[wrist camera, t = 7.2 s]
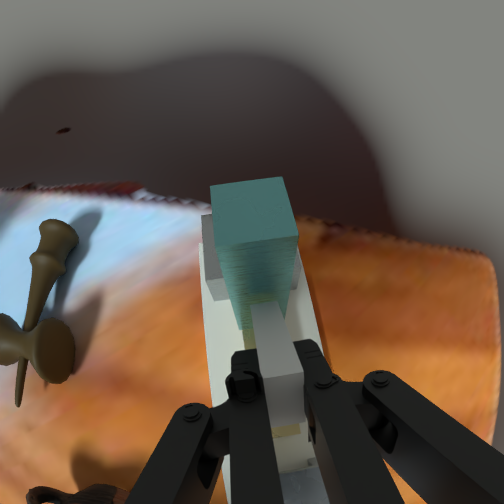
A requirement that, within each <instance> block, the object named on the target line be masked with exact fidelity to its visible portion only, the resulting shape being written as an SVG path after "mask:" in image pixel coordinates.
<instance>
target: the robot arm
mask: <svg viewBox="0 0 504 504" xmlns="http://www.w3.org/2000/svg"><path fill="white" fill-rule="evenodd" d="M250 308H251V314H252V321H253V328H254V335H255V342H256V348H255V349H247V350H240V351H235V352H234V354H233V355H232V357H231V373H230V374H229V375H228V376H227V377H226V380H225V385H226V389H227V393H228V397H229V398H228V399H227V400H226V401H225V402H224V403H222V404H221V405H218V406H216V407H212V408H208V407H207V406H205V405H204V404H200V403H190V404H186V405H183V406H182V407H180V408H179V409H178V410H177V411H176V412H175V414H174V415H173V417H172V419H171V421H170V423H169V424H168V426H167V428H166V430H165V432H164V433H163V435H162V437H161V439H160V441H159V442H158V444H157V446H156V448H155V450H154V451H153V453H152V455H151V457H150V458H149V460H148V462H147V464H146V466H145V467H144V469H143V471H142V473H141V474H140V476H139V478H138V480H137V482H136V483H135V485H134V487H133V489H132V490H131V492H130V494H129V496H128V497H127V499H126V501H125V503H124V504H209V502H210V499H211V496H212V493H213V490H214V487H215V484H216V482H217V479H218V476H219V473H220V470H221V467H222V463H223V460H224V456H226V455H229V454H230V489H231V504H284V499H283V493H282V488H281V482H280V477H279V471H278V465H277V460H276V454H275V448H274V442H273V437H272V431H271V428H274V427H280V426H286V425H292V424H297V423H302V422H306V418H307V421H308V442H312V446H313V449H314V453H315V456H316V459H317V463H318V466H319V469H320V473H321V476H322V479H323V483H324V486H325V489H326V493H327V496H328V499H329V503H330V504H405V503H404V501H403V499H402V497H401V495H400V493H399V490H398V488H397V486H396V484H395V482H394V480H393V478H392V476H391V474H390V472H389V470H388V468H387V466H386V464H385V463H384V461H383V459H384V460H385V461H386V462H387V463H388V464H389V465H390V466H391V467H392V468H393V469H394V470H395V471H396V472H397V473H398V475H399V476H400V477H401V478H402V479H403V480H404V481H405V482H406V483H407V484H408V485H409V486H410V487H411V488H412V489H413V490H414V491H415V492H416V493H417V494H418V495H419V496H420V497H421V498H422V499H423V500H424V501H425V502H426V503H427V504H504V455H503V454H502V453H500V452H499V451H497V450H496V449H495V448H493V447H492V446H491V445H489V444H488V443H486V442H485V441H484V440H482V439H481V438H480V437H478V436H477V435H475V434H474V433H473V432H471V431H470V430H469V429H467V428H466V427H464V426H463V425H462V424H460V423H459V422H458V421H456V420H455V419H454V418H452V417H451V416H450V415H448V414H447V413H445V412H444V411H443V410H441V409H440V408H439V407H437V406H436V405H435V404H433V403H432V402H431V401H429V400H428V399H427V398H425V397H424V396H423V395H421V394H420V393H419V392H417V391H416V390H415V389H413V388H412V387H411V386H409V385H408V384H407V383H405V382H404V381H403V380H401V379H400V378H399V377H397V376H396V375H395V374H393V373H391V372H389V371H384V370H377V371H373V372H370V373H369V374H367V375H366V376H365V377H364V379H363V382H346V381H342V379H341V378H340V377H339V376H338V375H336V374H334V373H332V371H331V369H330V367H329V365H328V363H327V361H326V359H325V357H324V356H323V353H322V352H321V350H320V348H319V346H318V344H317V343H316V342H315V341H313V340H312V339H305V340H300V341H294V342H292V339H291V336H290V334H289V331H288V328H287V326H286V323H285V320H284V318H283V315H282V312H281V310H280V307H279V304H278V302H277V301H273V302H267V303H260V304H253V305H250ZM382 458H383V459H382Z"/></svg>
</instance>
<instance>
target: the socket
mask: <svg viewBox="0 0 504 504" xmlns="http://www.w3.org/2000/svg"><path fill="white" fill-rule="evenodd" d="M201 219H202V238H203V255H204V270H205V281H206V284H207V286H208V288H209V291H210V293H211V295H212V298H213V300H214V301H221V300H229V299H230V298H229V294H228V291H227V288H226V284H225V281H224V277H223V274H222V270H221V267H220V263H219V260H218V256H217V253H216V249H215V242H214V230H213V218H212V214H208V215H201ZM301 267H302V266H301V262H300V258H299V254H298V250H297V251H296V257H295V264H294V270H293V276H292V282H291V287H290V290H295V289H297V286H298V281H299V277H300V272H301Z"/></svg>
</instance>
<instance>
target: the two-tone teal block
mask: <svg viewBox="0 0 504 504" xmlns="http://www.w3.org/2000/svg"><path fill="white" fill-rule="evenodd" d="M210 190H211V205H212V218H213V230H214V242H215V249H216V253H217V256H218V260H219V263H220V267H221V270H222V274H223V277H224V281H225V284H226V288H227V291H228V294H229V298H230V301H231V305H232V308H233V311H234V315H235V318H236V321H237V325H238V328H239V330H242V333H243V341H244V348H245V350H247V349H255V348H256V342H255V335H254V328H253V321H252V314H251V308H250V305H253V304H260V303H267V302H273V301H277V302H278V304H279V307H280V310H281V312H282V315H283V318H284V320H285V315H286V310H287V304H288V299H289V293H290V287H291V282H292V276H293V270H294V264H295V257H296V251H297V245H298V238H299V233H298V229H297V226H296V222H295V219H294V215H293V212H292V208H291V205H290V201H289V198H288V195H287V191H286V188H285V184H284V181H283V178H282V177H274V178H265V179H257V180H250V181H243V182H235V183H227V184H221V185H214V186H210ZM271 431H272V437H273V438H279V437H285V436H291V435H296V434H301V431H300V426H299V423H297V424H292V425H286V426H280V427H274V428H271Z"/></svg>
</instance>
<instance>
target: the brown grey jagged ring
mask: <svg viewBox="0 0 504 504" xmlns="http://www.w3.org/2000/svg"><path fill="white" fill-rule="evenodd" d="M129 494H130V492H128V491H126V490H123V489H120V488H117V487H115V486H110V485H107V484H94V485H91V486H89V487H88V488H86V489H84V490H82V491H80V492H77V493H76V494H68V493H65V492H62V491H60V490H57V489H54V488H50V487H45V486H38V487H35V488H33V489H29V492H28V493H27V495H26V501H27V504H42V503H45V502H48V503H54V504H124V503H125V501H126V499H127V497H128V496H129Z"/></svg>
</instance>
